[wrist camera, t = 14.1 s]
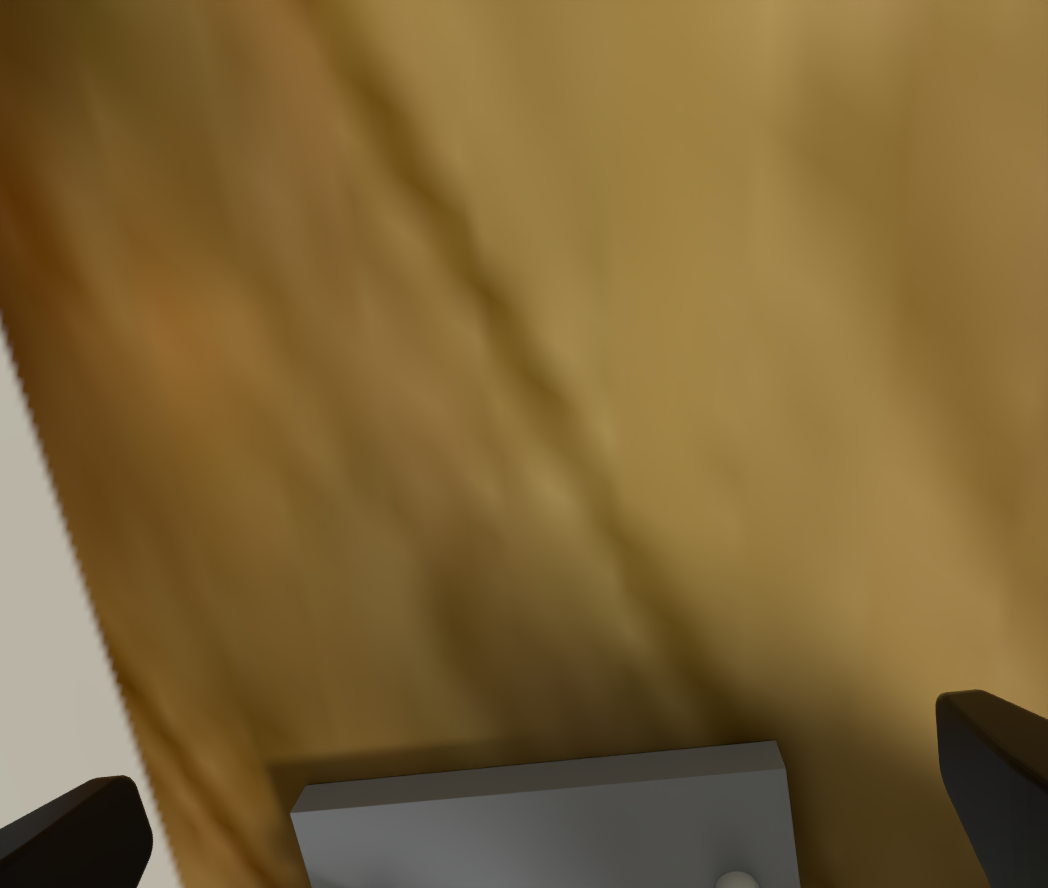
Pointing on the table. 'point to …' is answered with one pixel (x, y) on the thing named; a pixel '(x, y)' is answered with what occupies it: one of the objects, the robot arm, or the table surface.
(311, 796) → the standoff plate
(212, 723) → the table surface
